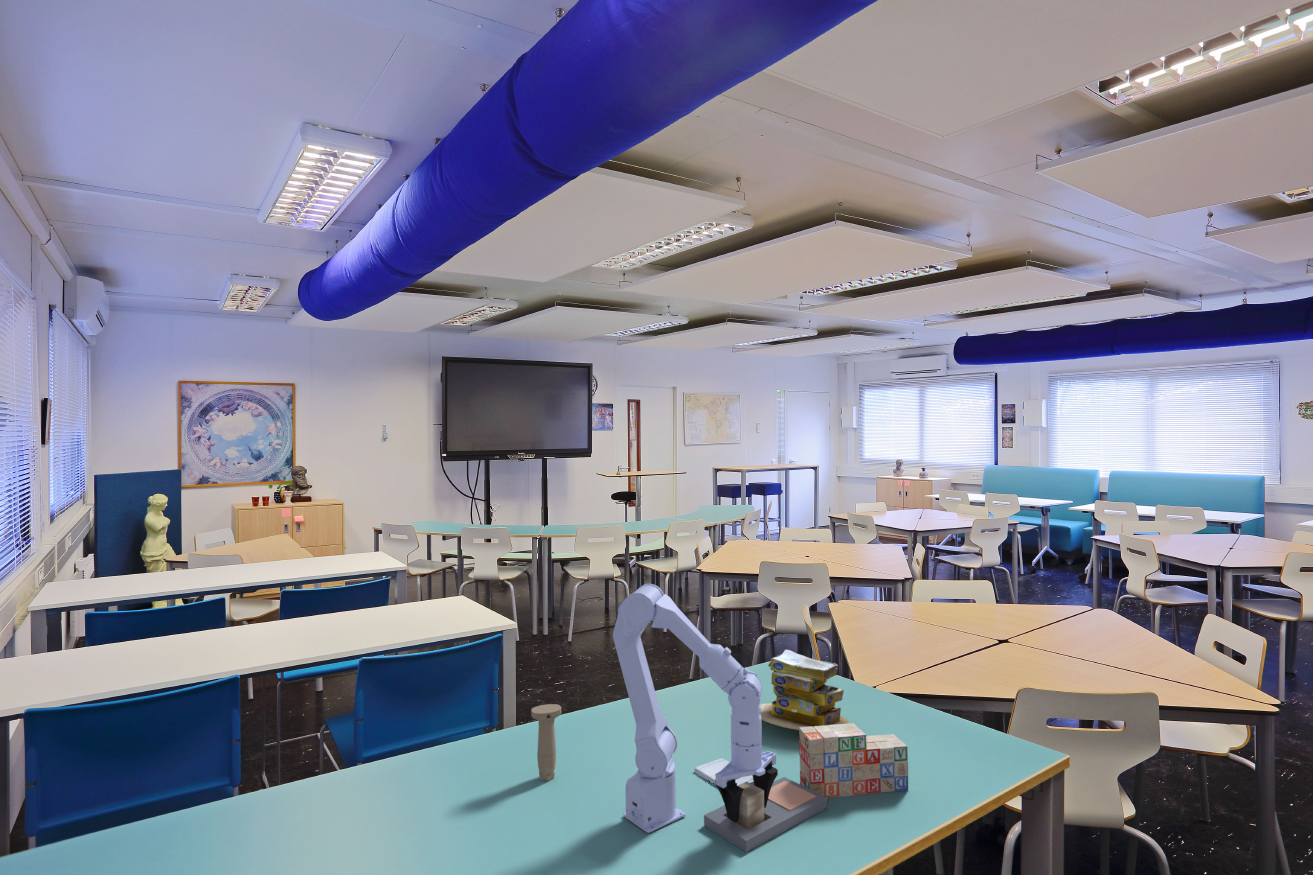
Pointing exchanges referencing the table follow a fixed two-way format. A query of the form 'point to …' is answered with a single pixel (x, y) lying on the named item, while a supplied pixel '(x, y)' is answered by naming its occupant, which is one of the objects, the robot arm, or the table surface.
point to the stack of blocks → (851, 761)
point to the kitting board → (769, 815)
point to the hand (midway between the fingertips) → (747, 812)
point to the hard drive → (715, 767)
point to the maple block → (751, 806)
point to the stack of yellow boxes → (802, 693)
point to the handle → (546, 739)
